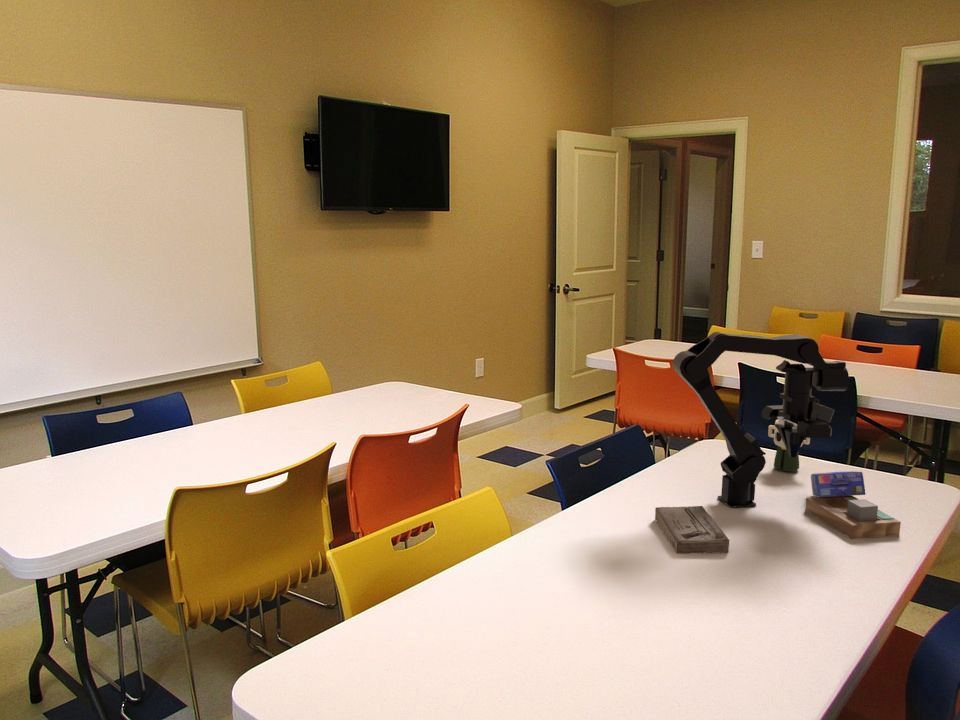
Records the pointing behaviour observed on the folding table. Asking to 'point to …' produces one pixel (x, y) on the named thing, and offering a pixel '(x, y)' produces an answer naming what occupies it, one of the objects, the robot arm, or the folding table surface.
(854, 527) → the socket block
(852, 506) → the plug
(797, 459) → the character mug
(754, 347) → the robot arm
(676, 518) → the box
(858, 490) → the ink cartridge box
